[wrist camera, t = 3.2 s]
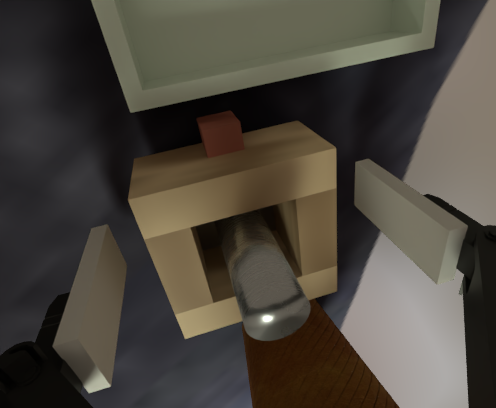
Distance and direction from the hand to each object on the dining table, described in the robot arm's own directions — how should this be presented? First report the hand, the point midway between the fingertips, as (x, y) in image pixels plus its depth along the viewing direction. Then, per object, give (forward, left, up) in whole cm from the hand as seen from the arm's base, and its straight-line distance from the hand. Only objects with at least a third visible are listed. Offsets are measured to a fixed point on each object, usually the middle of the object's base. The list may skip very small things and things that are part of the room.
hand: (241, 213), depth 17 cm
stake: (0, 0, -2) cm, 2 cm away
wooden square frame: (0, 0, -1) cm, 1 cm away
